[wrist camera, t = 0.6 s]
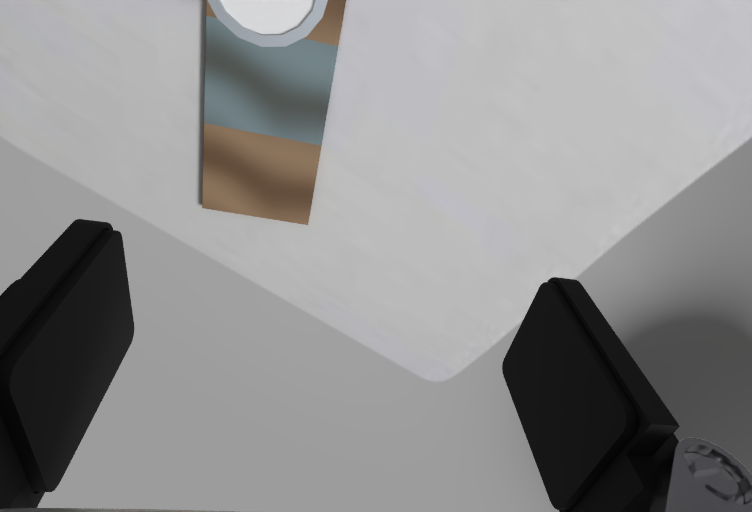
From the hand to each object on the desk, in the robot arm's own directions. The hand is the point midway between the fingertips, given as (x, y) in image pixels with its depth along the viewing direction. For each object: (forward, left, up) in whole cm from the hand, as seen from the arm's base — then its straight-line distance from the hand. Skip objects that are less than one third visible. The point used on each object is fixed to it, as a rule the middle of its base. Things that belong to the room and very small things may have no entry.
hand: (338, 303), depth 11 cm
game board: (+3, -5, -28) cm, 28 cm away
